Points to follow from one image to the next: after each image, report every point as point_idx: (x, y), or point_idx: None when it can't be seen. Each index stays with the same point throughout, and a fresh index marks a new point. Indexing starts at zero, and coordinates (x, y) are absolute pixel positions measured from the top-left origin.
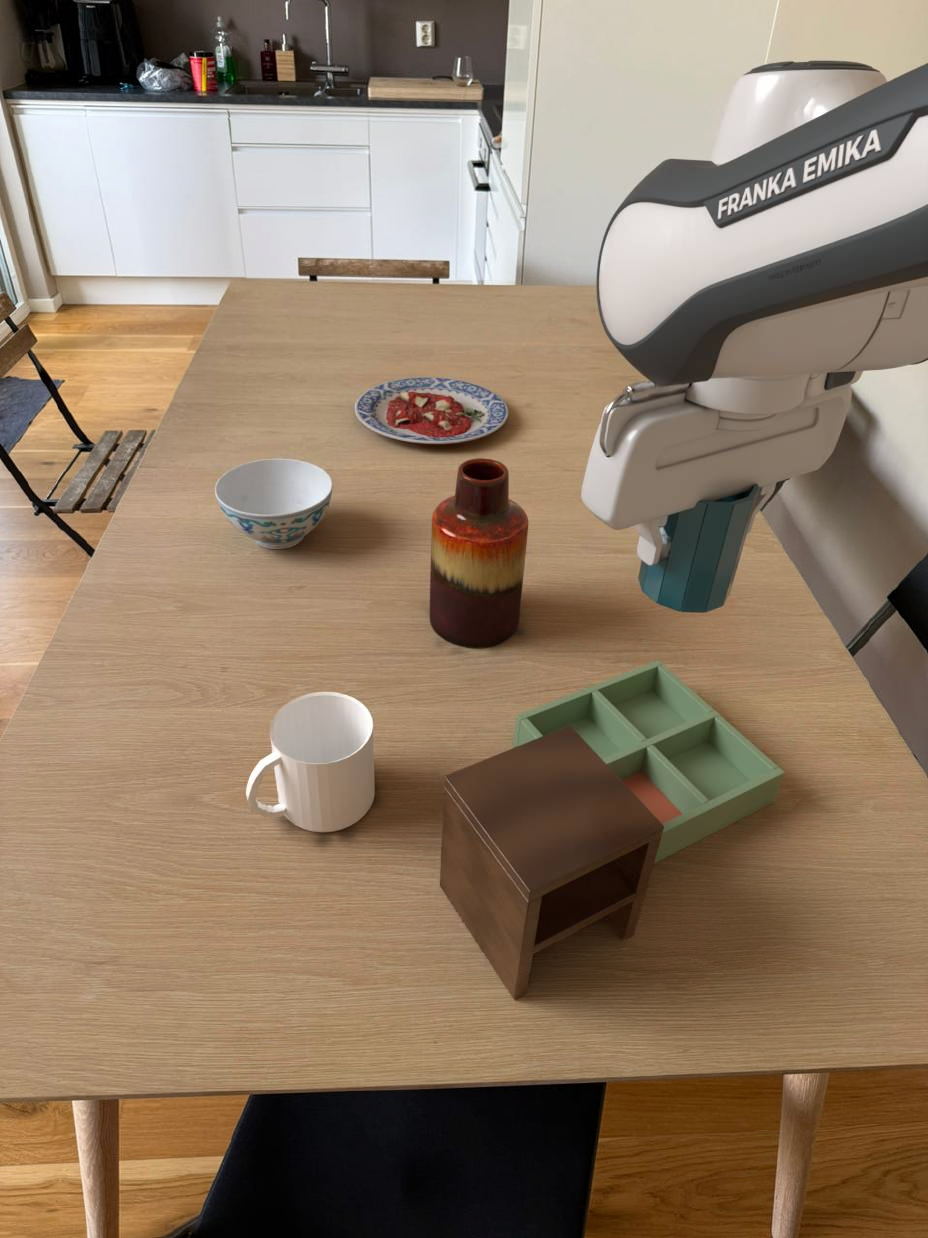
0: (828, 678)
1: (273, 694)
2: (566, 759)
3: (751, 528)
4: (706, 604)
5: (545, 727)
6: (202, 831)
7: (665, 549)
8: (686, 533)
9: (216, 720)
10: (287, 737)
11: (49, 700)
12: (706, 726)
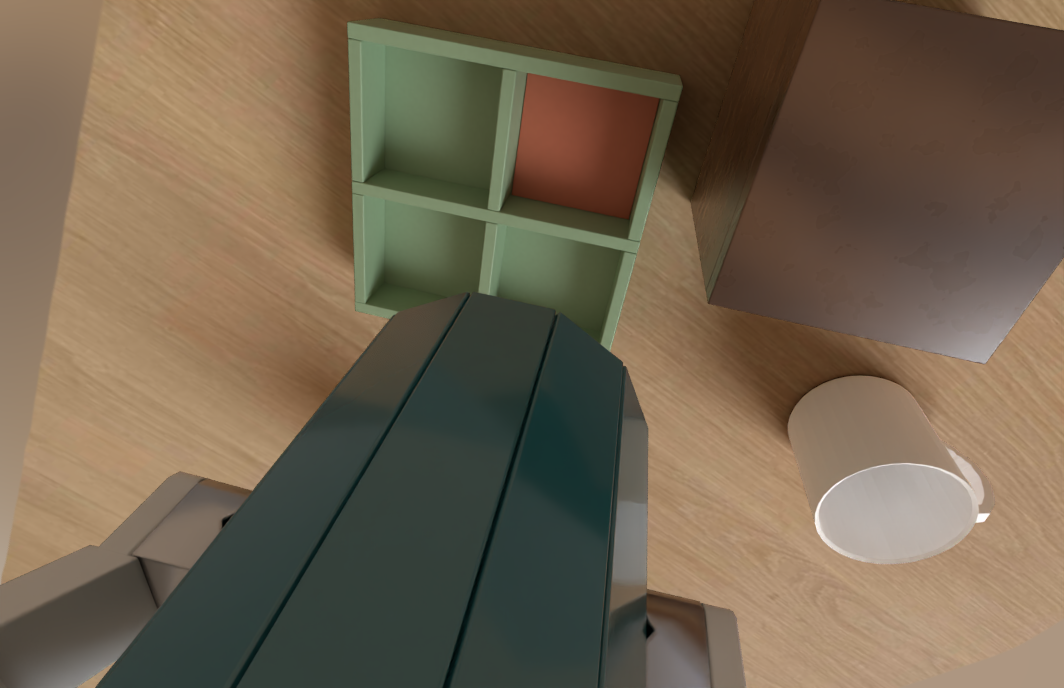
0: (124, 130)
1: (764, 548)
2: (793, 253)
3: (160, 486)
4: (553, 330)
5: None
6: (993, 471)
7: (678, 661)
8: None
9: (841, 559)
10: (877, 516)
11: (938, 662)
12: (381, 181)
